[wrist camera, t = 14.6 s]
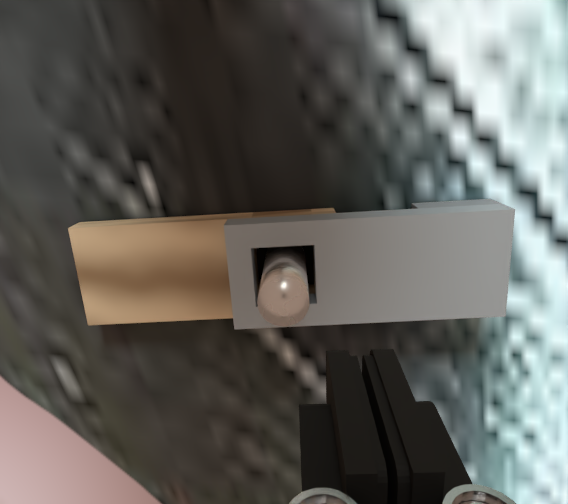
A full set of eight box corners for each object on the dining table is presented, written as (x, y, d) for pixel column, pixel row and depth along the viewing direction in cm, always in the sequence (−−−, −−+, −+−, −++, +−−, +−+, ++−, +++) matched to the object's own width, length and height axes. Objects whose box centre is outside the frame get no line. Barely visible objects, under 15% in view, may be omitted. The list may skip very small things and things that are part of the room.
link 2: (231, 213, 35) (223, 225, 31) (490, 198, 35) (515, 209, 31) (240, 307, 38) (234, 329, 34) (483, 295, 37) (505, 316, 33)
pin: (263, 239, 36) (255, 280, 27) (304, 237, 36) (308, 277, 27) (267, 277, 37) (259, 328, 28) (306, 275, 37) (310, 325, 28)
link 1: (80, 222, 36) (68, 228, 34) (333, 207, 35) (335, 213, 33) (98, 314, 38) (88, 325, 36) (336, 302, 37) (338, 313, 35)
